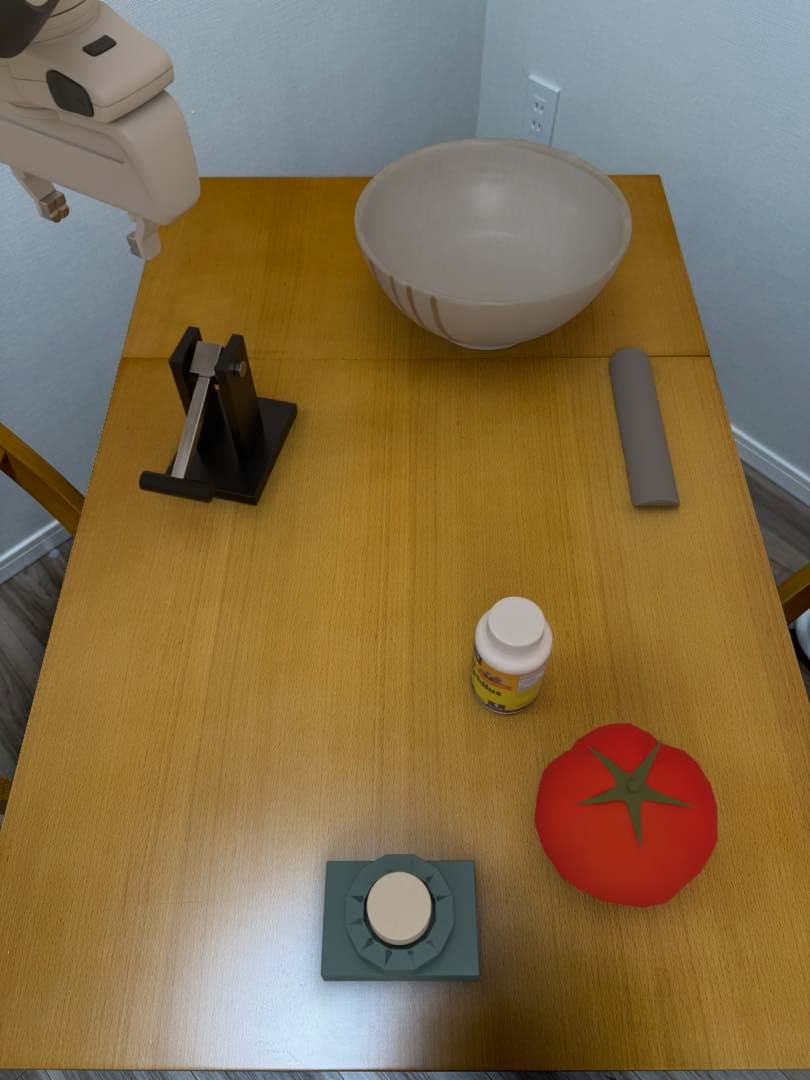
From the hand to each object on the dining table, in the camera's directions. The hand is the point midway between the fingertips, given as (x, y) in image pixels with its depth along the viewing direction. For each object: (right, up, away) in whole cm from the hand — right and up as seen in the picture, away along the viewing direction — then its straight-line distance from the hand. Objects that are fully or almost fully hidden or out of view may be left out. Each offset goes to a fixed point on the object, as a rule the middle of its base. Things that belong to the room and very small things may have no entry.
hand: (100, 235), depth 66 cm
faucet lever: (+6, -14, +8) cm, 17 cm away
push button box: (+23, -49, -8) cm, 55 cm away
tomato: (+38, -44, -5) cm, 59 cm away
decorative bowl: (+32, +1, +27) cm, 42 cm away
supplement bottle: (+31, -35, +2) cm, 47 cm away
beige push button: (+23, -47, -11) cm, 54 cm away
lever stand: (+7, -15, +16) cm, 23 cm away
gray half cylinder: (+46, -13, +17) cm, 51 cm away
